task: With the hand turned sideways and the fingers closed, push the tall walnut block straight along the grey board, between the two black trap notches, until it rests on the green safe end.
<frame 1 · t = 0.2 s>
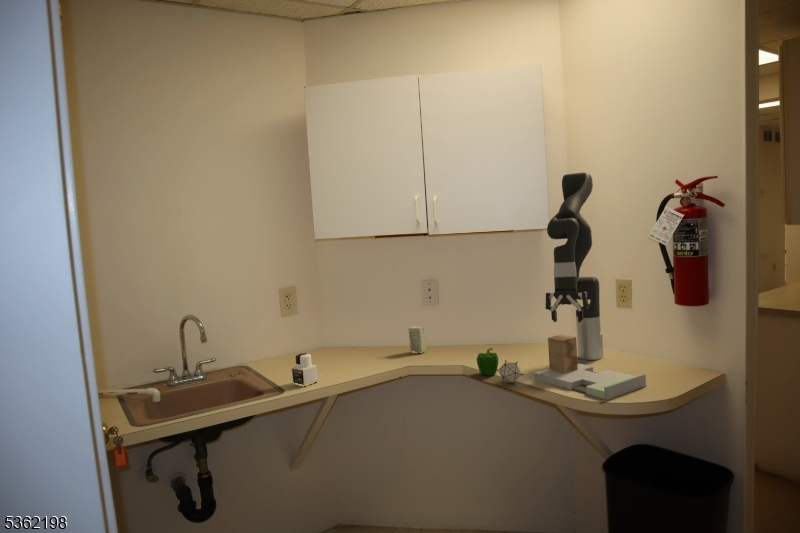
hand: (567, 321, 180), 22 cm above the worktop, tool pointing down, fingers open, 8 cm apart
game die: (510, 383, 186), on the worktop
skincare box: (418, 353, 242), on the worktop
walnut block: (563, 369, 189), point 2 cm above the worktop, touching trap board
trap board: (587, 382, 180), on the worktop
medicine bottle: (305, 384, 205), on the worktop
bell pepper: (488, 374, 199), on the worktop
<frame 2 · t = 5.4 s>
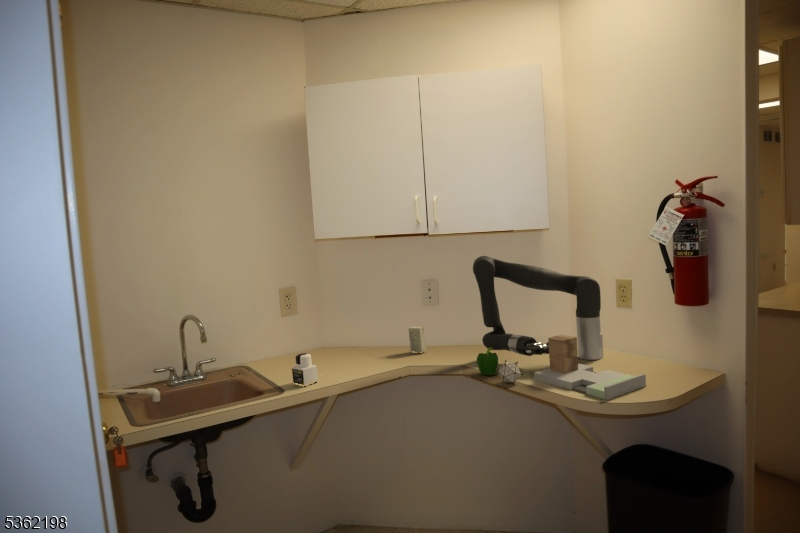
hand: (555, 352, 191), 9 cm above the worktop, tool horizontal, fingers closed
walnut block: (564, 369, 188), point 2 cm above the worktop, touching gripper, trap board
everything else where it was.
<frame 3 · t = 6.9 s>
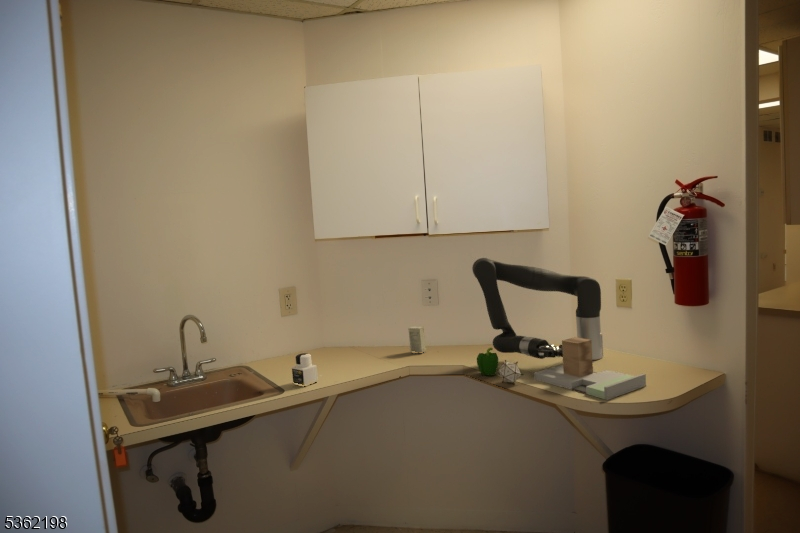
hand: (569, 354, 186), 9 cm above the worktop, tool horizontal, fingers closed
walnut block: (578, 373, 183), point 2 cm above the worktop, touching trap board
everything else where it was.
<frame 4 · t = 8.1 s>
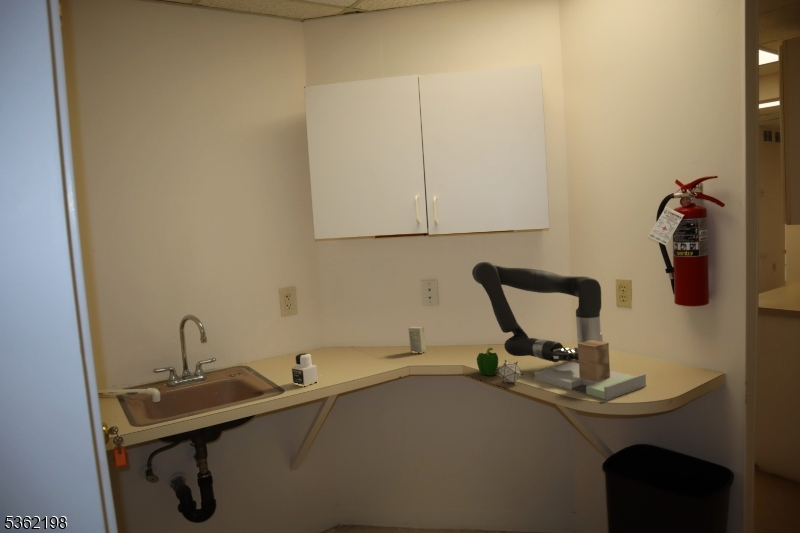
hand: (585, 358, 179), 9 cm above the worktop, tool horizontal, fingers closed
walnut block: (594, 377, 177), point 2 cm above the worktop, touching gripper, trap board
everything else where it was.
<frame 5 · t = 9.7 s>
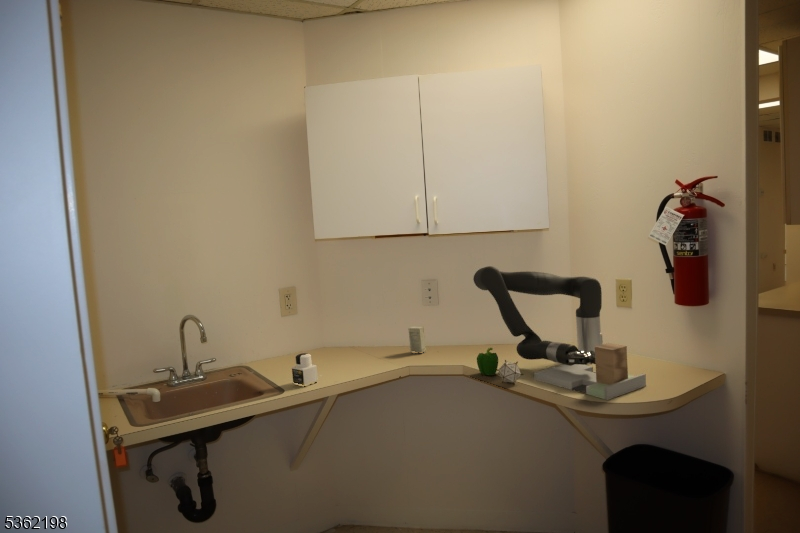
hand: (602, 361, 174), 9 cm above the worktop, tool horizontal, fingers closed
walnut block: (612, 381, 171), point 3 cm above the worktop
everything else where it was.
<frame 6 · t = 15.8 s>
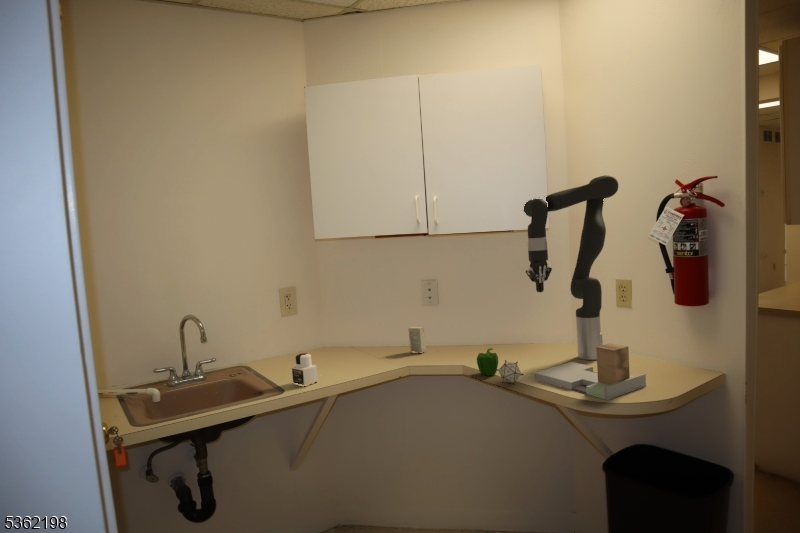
hand: (540, 291, 207), 29 cm above the worktop, tool pointing down, fingers closed
walnut block: (613, 382, 170), point 2 cm above the worktop, touching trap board
everything else where it was.
at the end: walnut block inside the target area (0.7 cm from its centre), point 2.5 cm above the worktop; walnut block tilted 0°; walnut block moved 21.3 cm from its start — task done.
